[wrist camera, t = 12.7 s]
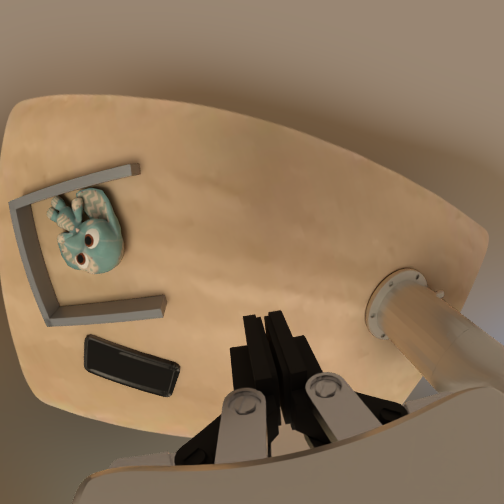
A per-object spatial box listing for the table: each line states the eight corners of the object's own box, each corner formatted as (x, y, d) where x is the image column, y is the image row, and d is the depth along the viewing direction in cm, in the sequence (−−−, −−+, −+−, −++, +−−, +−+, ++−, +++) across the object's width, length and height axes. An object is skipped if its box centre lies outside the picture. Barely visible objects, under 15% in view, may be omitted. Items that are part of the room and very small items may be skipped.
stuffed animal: (46, 163, 21) (122, 227, 22) (82, 166, 28) (150, 219, 29) (17, 246, 23) (83, 312, 24) (52, 236, 30) (112, 289, 31)
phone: (170, 398, 38) (83, 370, 34) (171, 393, 39) (85, 365, 35) (181, 366, 36) (84, 334, 32) (181, 361, 37) (87, 330, 33)
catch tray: (138, 163, 27) (130, 164, 24) (166, 303, 33) (163, 317, 30) (23, 197, 26) (8, 201, 22) (57, 314, 31) (47, 326, 28)
